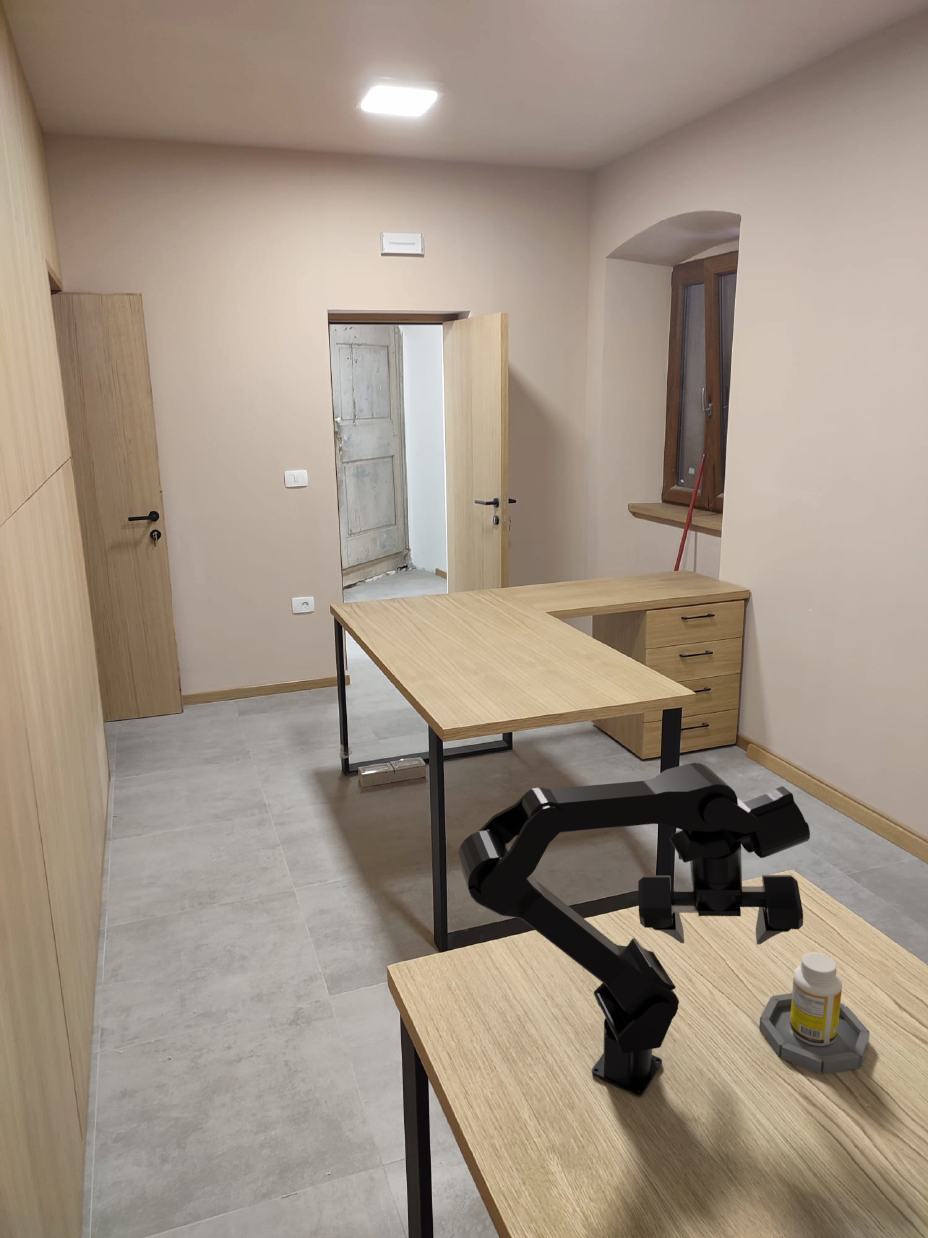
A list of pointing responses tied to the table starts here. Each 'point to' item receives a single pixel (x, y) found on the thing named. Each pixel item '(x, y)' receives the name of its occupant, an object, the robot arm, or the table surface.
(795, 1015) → the supplement bottle
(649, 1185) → the table surface
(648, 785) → the robot arm
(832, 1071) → the dish
